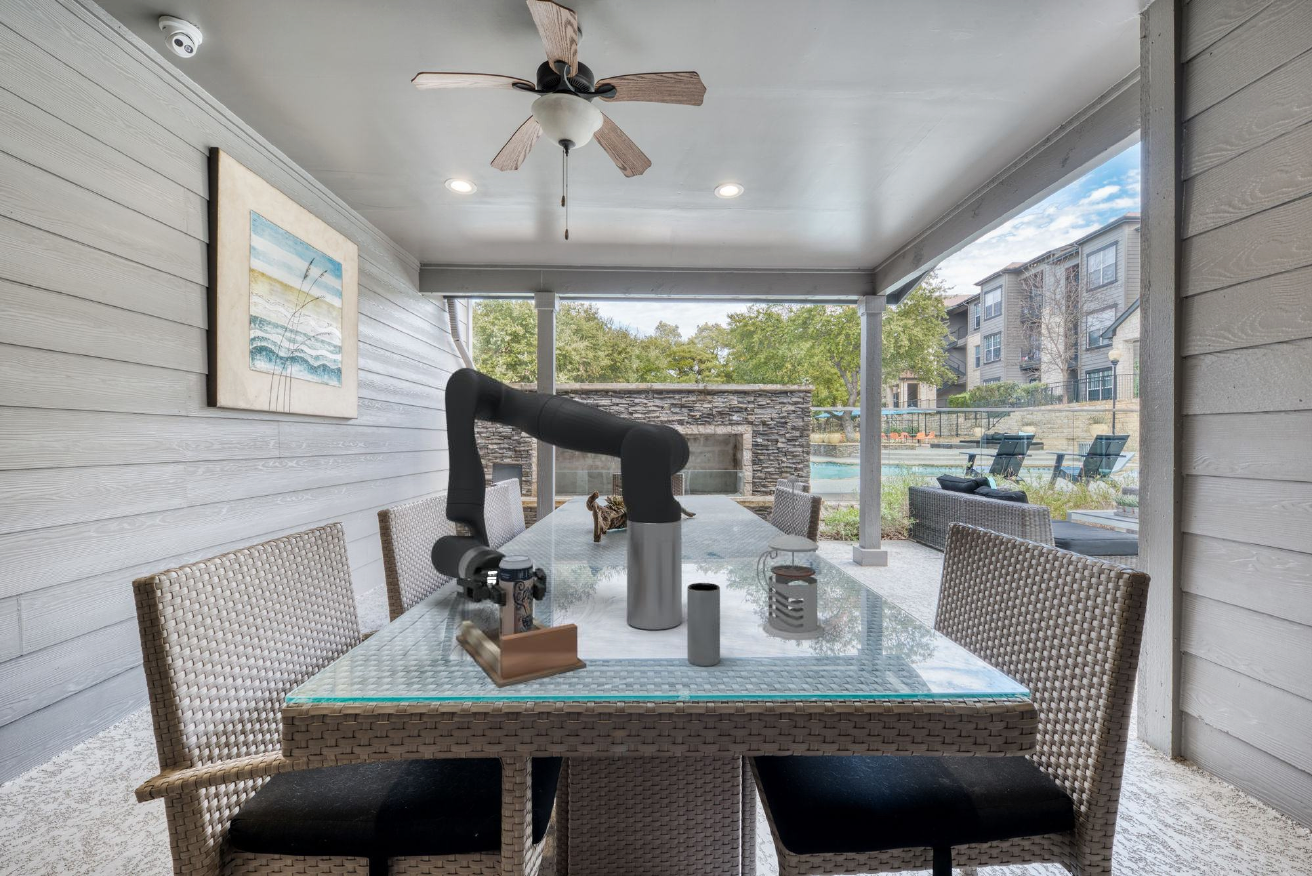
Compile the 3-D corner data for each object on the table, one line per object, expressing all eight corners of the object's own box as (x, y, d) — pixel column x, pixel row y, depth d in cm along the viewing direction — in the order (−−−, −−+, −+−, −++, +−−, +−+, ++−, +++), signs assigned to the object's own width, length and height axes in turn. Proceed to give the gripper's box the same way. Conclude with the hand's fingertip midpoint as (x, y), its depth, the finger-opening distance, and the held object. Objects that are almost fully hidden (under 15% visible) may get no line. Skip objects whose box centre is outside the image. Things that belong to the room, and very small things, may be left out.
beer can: (524, 647, 82) (524, 562, 82) (492, 644, 83) (493, 560, 83) (538, 635, 87) (538, 555, 87) (508, 633, 88) (508, 553, 88)
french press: (800, 644, 88) (800, 478, 88) (741, 626, 97) (741, 474, 97) (836, 630, 95) (836, 475, 95) (777, 614, 103) (777, 472, 103)
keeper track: (455, 638, 91) (455, 603, 91) (530, 625, 97) (530, 592, 97) (498, 687, 73) (498, 643, 73) (586, 667, 80) (586, 626, 80)
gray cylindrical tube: (723, 656, 83) (723, 584, 83) (715, 668, 79) (715, 592, 79) (692, 652, 85) (692, 581, 85) (683, 664, 81) (683, 589, 81)
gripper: (442, 554, 93) (471, 576, 79) (528, 545, 101) (569, 564, 87) (442, 601, 93) (471, 632, 79) (528, 588, 101) (569, 614, 87)
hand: (522, 596), depth 83 cm, fingers closed on beer can, 4 cm apart
